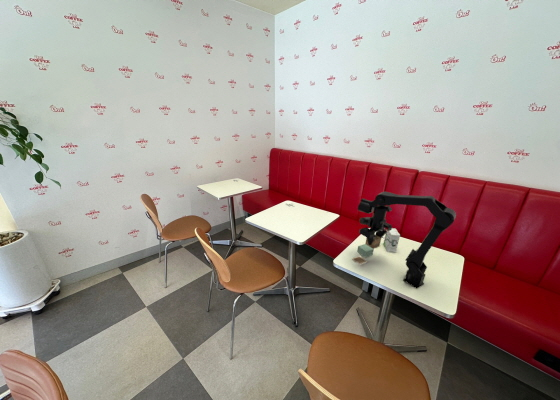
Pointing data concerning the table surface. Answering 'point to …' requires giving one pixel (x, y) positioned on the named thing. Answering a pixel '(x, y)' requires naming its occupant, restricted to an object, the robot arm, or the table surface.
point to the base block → (365, 250)
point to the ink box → (391, 240)
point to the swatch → (359, 260)
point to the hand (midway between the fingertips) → (372, 243)
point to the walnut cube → (374, 242)
